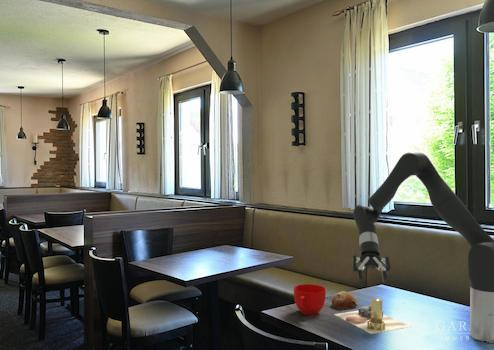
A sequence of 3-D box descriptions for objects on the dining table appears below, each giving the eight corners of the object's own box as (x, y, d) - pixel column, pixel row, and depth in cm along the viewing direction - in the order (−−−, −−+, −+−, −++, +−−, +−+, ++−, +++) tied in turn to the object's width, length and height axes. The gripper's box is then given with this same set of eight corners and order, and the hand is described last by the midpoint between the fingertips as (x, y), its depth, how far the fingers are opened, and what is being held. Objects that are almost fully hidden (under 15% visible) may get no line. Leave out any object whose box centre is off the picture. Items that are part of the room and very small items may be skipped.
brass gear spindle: (388, 328, 156) (389, 301, 156) (375, 331, 154) (375, 303, 153) (377, 323, 162) (377, 296, 162) (364, 325, 159) (364, 298, 159)
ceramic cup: (284, 317, 171) (284, 292, 171) (300, 305, 186) (300, 282, 186) (316, 323, 165) (316, 297, 165) (329, 310, 180) (330, 286, 180)
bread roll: (343, 310, 192) (336, 292, 195) (362, 304, 187) (355, 286, 189) (332, 315, 185) (325, 297, 187) (352, 310, 179) (345, 291, 181)
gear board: (410, 330, 158) (411, 317, 158) (371, 338, 151) (371, 324, 151) (370, 312, 179) (370, 300, 178) (334, 318, 171) (334, 305, 171)
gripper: (351, 239, 177) (354, 274, 166) (388, 240, 175) (393, 276, 164) (350, 250, 183) (353, 284, 171) (385, 251, 181) (390, 286, 169)
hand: (372, 280), depth 168 cm, fingers open, 8 cm apart
